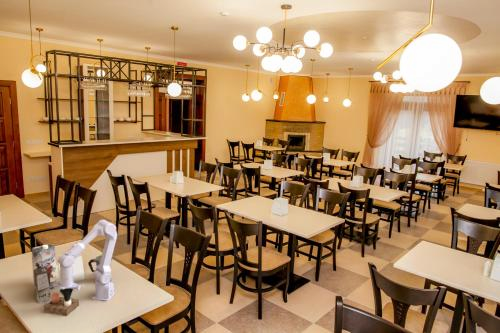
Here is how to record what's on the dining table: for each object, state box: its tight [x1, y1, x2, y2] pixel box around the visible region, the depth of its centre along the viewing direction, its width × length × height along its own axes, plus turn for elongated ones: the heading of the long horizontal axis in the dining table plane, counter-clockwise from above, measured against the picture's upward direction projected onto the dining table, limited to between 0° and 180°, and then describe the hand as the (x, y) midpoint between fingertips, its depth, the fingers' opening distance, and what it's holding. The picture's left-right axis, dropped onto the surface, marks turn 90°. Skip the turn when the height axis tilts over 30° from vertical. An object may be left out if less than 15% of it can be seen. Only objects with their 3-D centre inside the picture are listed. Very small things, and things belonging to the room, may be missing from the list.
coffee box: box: [32, 267, 52, 304], centre depth 194 cm, size 9×6×16 cm
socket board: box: [43, 296, 80, 317], centre depth 185 cm, size 13×10×4 cm
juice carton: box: [31, 243, 57, 290], centre depth 202 cm, size 9×10×27 cm
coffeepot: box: [87, 254, 115, 282], centre depth 215 cm, size 15×9×18 cm, turn 129°
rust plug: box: [51, 291, 60, 304], centre depth 185 cm, size 3×3×5 cm
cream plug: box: [64, 299, 71, 306], centre depth 184 cm, size 3×3×5 cm
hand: (67, 300), depth 184 cm, fingers closed, pressing on cream plug
